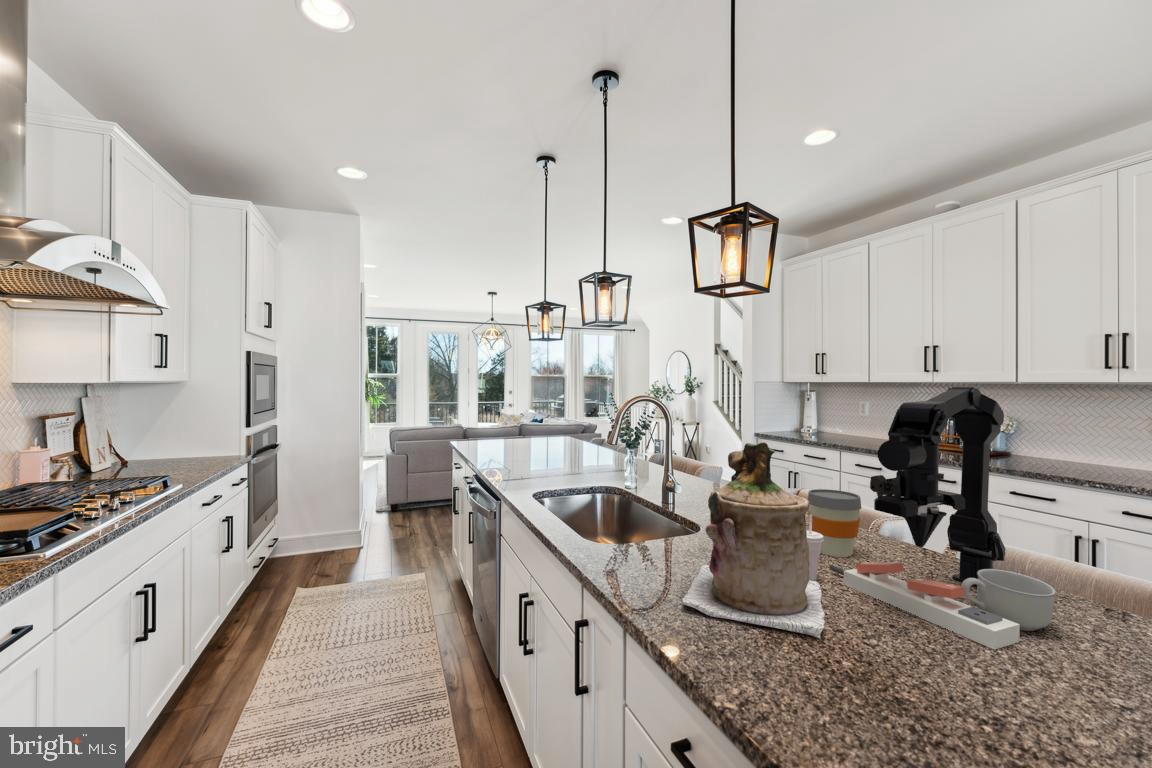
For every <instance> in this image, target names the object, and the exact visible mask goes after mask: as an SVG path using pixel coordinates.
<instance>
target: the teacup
mask: <svg viewBox="0 0 1152 768" xmlns="http://www.w3.org/2000/svg"><path fill="white" fill-rule="evenodd" d="M977 575H978V579H976V578H967V579H965V580H964V581H961V585H960V586H962V587H963V588H964V594H965V596H964V597H965V598H966V599H967V600H969V601H970V602H971V603H972V604H975V605H976V607H977V608H979V609H982V610H984V611H987V612H990V613H992V614H995V615H998V616H1000V617H1003V618H1004V619H1007V620H1009V621H1012V622H1015V623H1018V624H1020V631H1027V632H1033V631H1038V630H1040V629H1042V628H1045V627H1047V626H1049V625H1050V623H1051V622H1052V619H1053V616H1054V605H1055V595H1056V593H1057V591H1056V589H1055V588H1054V587H1052V586H1051V585H1050V584H1049V583H1046V582H1044V581H1042V580H1041V579H1038V578H1035V577H1032V576H1029V575H1025V574H1023V573H1018V572H1015V571H1010V570H1003V569H997V568H993V569H982V570H979V571H978V572H977ZM973 584H976V585H977V586H976V588H977V589H976V598H975V597H974V596H973V595H972V594H971V593H970V588H971V587H972V586H974V585H973Z"/></svg>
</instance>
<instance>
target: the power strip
mask: <svg viewBox="0 0 1152 768" xmlns="http://www.w3.org/2000/svg"><path fill="white" fill-rule="evenodd" d="M829 570H830V571H832V572H834V573H836V574H839V575H841V576H843V585H844V586H845V587H848V588H850V589H852V590H855V591H858V592H859V593H861V594H864V595H867V596H868V595H869V597H872V598H873V599H875V598H876V600H878V599H879V600H878V601H880V600H881V602H882V601H883V602H882V603H885V602H886V603H885V604H887V603H888V604H887V605H889V604H891V605H890V606H892V605H893V606H892V607H894V606H895V608H896V607H898V608H897V609H899V608H900V609H899V610H901V609H902V610H901V611H903V610H905V611H904V612H906V611H907V612H906V613H908V612H910V613H912V614H911V615H913V614H914V615H913V616H915V615H916V616H915V617H917V616H918V617H917V618H920V619H923V620H924V619H925V621H926V622H929V623H931V624H933V625H936V626H938V625H939V627H940V626H941V628H944V629H945V628H946V630H947V629H948V630H947V631H950V632H952V631H953V632H952V633H954V634H957V635H959V636H961V637H965V638H966V639H969V640H970V641H974V642H976V643H978V644H980V645H983V646H985V647H987V648H989V649H992V650H994V651H995V650H998V649H1001V648H1006V647H1008V646H1011V645H1014V644H1017V643H1020V634H1021V633H1020V631H1021V630H1020V624H1018V623H1015V622H1012V621H1009V620H1007V619H1004V618H1003V617H1000V616H998V615H995V614H992V613H990V612H987V611H984V610H982V609H979V608H978V607H977V606H972V605H969V604H967V603H963V602H961V601H958V600H956V599H951V598H946V597H942V596H937V595H933V594H928V593H924V592H919V591H915V590H910V589H908V587H907V581H906V580H905V581H904V580H902V579H900V578H897V577H895V576H892V575H889V573H868V572H857V568H853V569H852V568H851V569H846V570H845V569H843V568H841V567H838V566H836V565H833V564H831V565H830V566H829ZM910 613H909V614H910Z"/></svg>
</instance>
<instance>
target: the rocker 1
mask: <svg viewBox="0 0 1152 768" xmlns="http://www.w3.org/2000/svg"><path fill="white" fill-rule="evenodd" d="M855 569H857V572H868V573H888V574H895V573H902V572H905V569H904V565H903V563H902V562H886V561H885V562H883V561H882V562H881V561H880V562H877V561H873V562H872V561H869V562H867V561H866V562H860V563H856V564H855Z"/></svg>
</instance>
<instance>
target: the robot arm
mask: <svg viewBox="0 0 1152 768" xmlns="http://www.w3.org/2000/svg"><path fill="white" fill-rule="evenodd" d="M949 418H950V419H951V420H952V421H953V428H954V431H955V433H956V434H957V436H958V437H959V439H960V440H961V442H962V455H961V479H960V480H961V481H960V482H961V483H960V493H956V492H950V491H946V490H940V489H939V481H940V480H945V474H944V473H941V472H939V470H940V469H939V467H940V466H939V460H940V458H939V457H940V455H939V454H940V453H939V450H940V449H939V448H940V445H939V444H942V443H943V441H942V438H941V436H942V434H943V432H944V430H945V429H946V428H947V427H948V426H949V425H948V422H949ZM1004 420H1005V413H1004V410H1003V409H1002V408H1001V406H1000V404H999V403H998V401H996V399H992V398H991V397H989V396H986V395H985V394H983V393H982V392H981V391H980V389H979V388H978V387H976V388H975V387H974V386H952V387H948V388H947V390H945V391H944V392H941V393H939V394H938V395H935V396H934V397H932V398H929V399H927V400H921V401H908V402H907V401H906V402H903V403H901V405H900V406H899V407H898V409H897V411H895V414H894V418H893V420H892V422H891V424H890V428H889V429H888V431H887V436H888V440H886V441H884V442H883V443H881V444H880V446H879V447H878V450H877V459H878V461H879V463H880V465H881V466H882V467H884V468H885V469H887V470H889V471H892V472H896V474H895V477H892V478H886V477H885V476H884V475H883V474H881V475H878V474H877V475H873V476H871V477H870V483H869V489H870V490H871V491H872V492H873V493H876V496H877V497H876V498H874V500H873V501H874V502H873V503H874V505H873V507H874V509H873V510H874V511H878V512H882V513H884V514H885V513H886V514H889V515H892V516H893V515H894V516H896V517H897V516H898V517H902V518H904V520H905V522H906V524H907V526H908V528H909V531H910V534H911V536H912V540H913V542H914V545H915V546H916V547H918V548H923V547H924V546H925V545H926V544H927V542H928V541H929V539H930V537H932V535H933V532H934V531H935V530H936V528H937V526H938V525H939V524H940V522H941V521H942V520H943V519H944V517H946V516H947V514H948V513H947V512H945V511H940V507H938V506H942V505H945V506H948V507H949V506H950V507H952V509H953V510H956V511H955V512H954V513H952V514H951V515H950V516H949V523H948V524H949V525H948V526H947V531H946V532H947V540H948V545H949V546H948V547H949V550H950V551H954V552H959V573H958V574H954V575H952V576H951V577H952V579H954V580H957V581H960V582H963V581H964V580H965V579H967V578H976V579H978V575H977V572H978V571H979V570H982V569H994V562H997V561H998V562H1000V561H1001V562H1005V559H1006V558H1005V556H1006V547H1005V545H1004V542H1003V541H1002V538H1001V536H1000V534H999V533H998V524H997V522H996V521H995V519H994V517H993V516H992V515H991V513H990V511H989V510H988V509H989V485H990V483H989V482H990V461H991V460H990V459H991V444H992V443H993V442H994V441H995V439H996V438H997V437H998V436H999V434H1000V433H1001V429H1002V428H1001V427H1002V426H1003V424H1004ZM972 586H974V587H977V585H976V584H973V585H972Z"/></svg>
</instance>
